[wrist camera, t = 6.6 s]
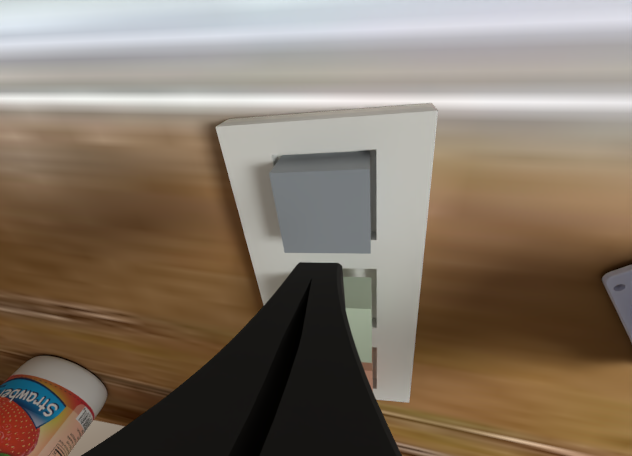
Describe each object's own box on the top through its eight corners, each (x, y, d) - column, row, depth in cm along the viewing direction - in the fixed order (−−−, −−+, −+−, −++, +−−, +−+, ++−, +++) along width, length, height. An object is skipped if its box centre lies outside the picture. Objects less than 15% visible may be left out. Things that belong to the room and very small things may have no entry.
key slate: (371, 227, 17) (370, 253, 15) (294, 228, 18) (284, 252, 16) (369, 150, 15) (369, 169, 13) (282, 155, 16) (268, 173, 14)
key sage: (372, 329, 20) (371, 362, 18) (305, 325, 21) (298, 357, 19) (371, 277, 17) (371, 309, 15) (296, 275, 18) (287, 305, 16)
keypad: (407, 383, 26) (409, 402, 24) (290, 373, 27) (286, 390, 26) (431, 103, 14) (437, 110, 13) (228, 118, 16) (215, 126, 15)
